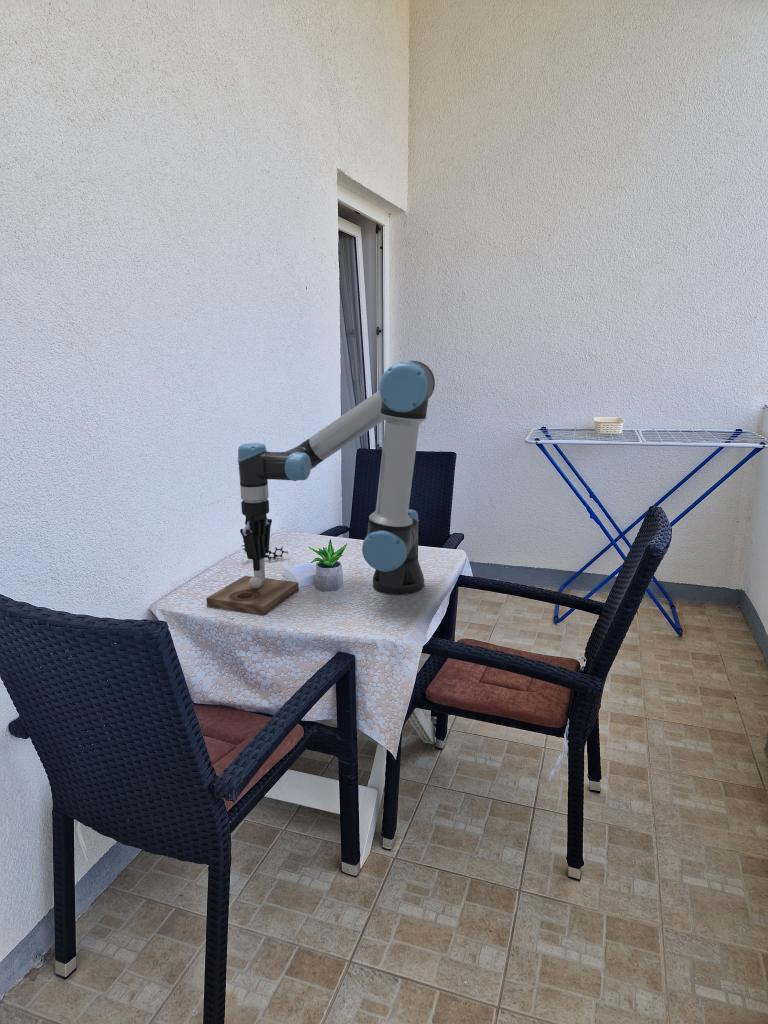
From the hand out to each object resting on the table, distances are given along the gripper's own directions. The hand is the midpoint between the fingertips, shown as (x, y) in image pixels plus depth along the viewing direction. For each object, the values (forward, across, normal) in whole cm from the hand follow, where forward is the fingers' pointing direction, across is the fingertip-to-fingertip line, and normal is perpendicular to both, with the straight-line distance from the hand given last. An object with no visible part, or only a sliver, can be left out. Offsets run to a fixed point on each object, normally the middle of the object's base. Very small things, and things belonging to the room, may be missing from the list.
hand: (259, 580), depth 186 cm
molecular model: (+5, -26, -14) cm, 30 cm away
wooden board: (+4, +4, 0) cm, 6 cm away
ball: (0, +2, 0) cm, 2 cm away
